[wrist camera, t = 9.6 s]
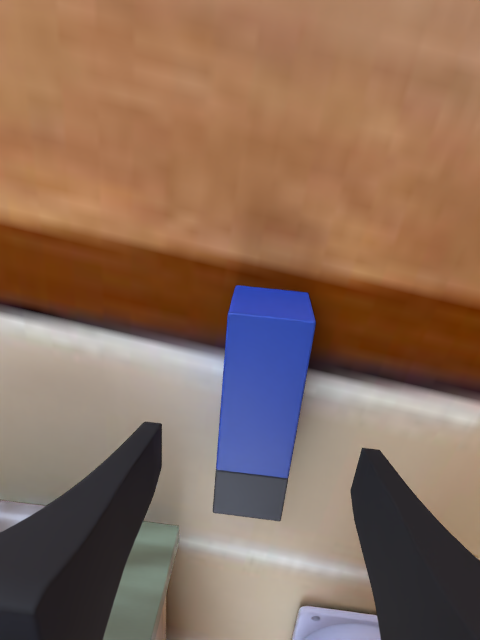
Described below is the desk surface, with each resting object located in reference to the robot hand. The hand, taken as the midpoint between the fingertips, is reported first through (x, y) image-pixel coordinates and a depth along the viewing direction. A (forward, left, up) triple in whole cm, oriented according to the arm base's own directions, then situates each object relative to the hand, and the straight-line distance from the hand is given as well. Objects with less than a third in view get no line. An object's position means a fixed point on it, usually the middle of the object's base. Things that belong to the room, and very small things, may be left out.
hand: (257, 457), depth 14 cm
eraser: (0, 0, -4) cm, 4 cm away
